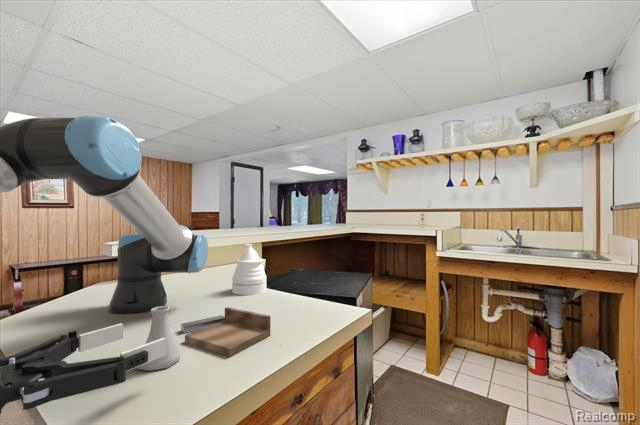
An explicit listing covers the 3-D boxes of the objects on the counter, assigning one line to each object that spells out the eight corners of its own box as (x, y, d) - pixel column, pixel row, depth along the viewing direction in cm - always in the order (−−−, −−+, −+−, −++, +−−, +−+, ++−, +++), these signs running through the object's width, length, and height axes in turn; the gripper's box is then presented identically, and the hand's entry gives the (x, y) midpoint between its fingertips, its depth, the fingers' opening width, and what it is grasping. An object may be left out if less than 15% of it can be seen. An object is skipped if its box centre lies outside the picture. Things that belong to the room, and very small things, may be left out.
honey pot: (262, 294, 103) (262, 245, 104) (227, 294, 103) (227, 245, 104) (269, 286, 116) (269, 242, 117) (237, 286, 116) (238, 242, 117)
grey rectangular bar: (180, 332, 69) (181, 323, 69) (221, 322, 75) (221, 315, 75) (183, 335, 67) (183, 326, 67) (225, 325, 73) (225, 317, 73)
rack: (184, 342, 62) (185, 321, 62) (227, 324, 73) (227, 307, 73) (230, 356, 55) (230, 333, 55) (270, 335, 66) (270, 315, 66)
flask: (149, 354, 57) (150, 303, 57) (186, 352, 57) (187, 302, 58) (127, 373, 49) (128, 315, 50) (171, 371, 50) (171, 313, 50)
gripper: (-76, 404, 38) (106, 344, 56) (-30, 491, 25) (186, 378, 44) (-74, 346, 38) (107, 306, 57) (-26, 406, 26) (186, 329, 44)
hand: (142, 337), depth 50 cm, fingers open, 13 cm apart
